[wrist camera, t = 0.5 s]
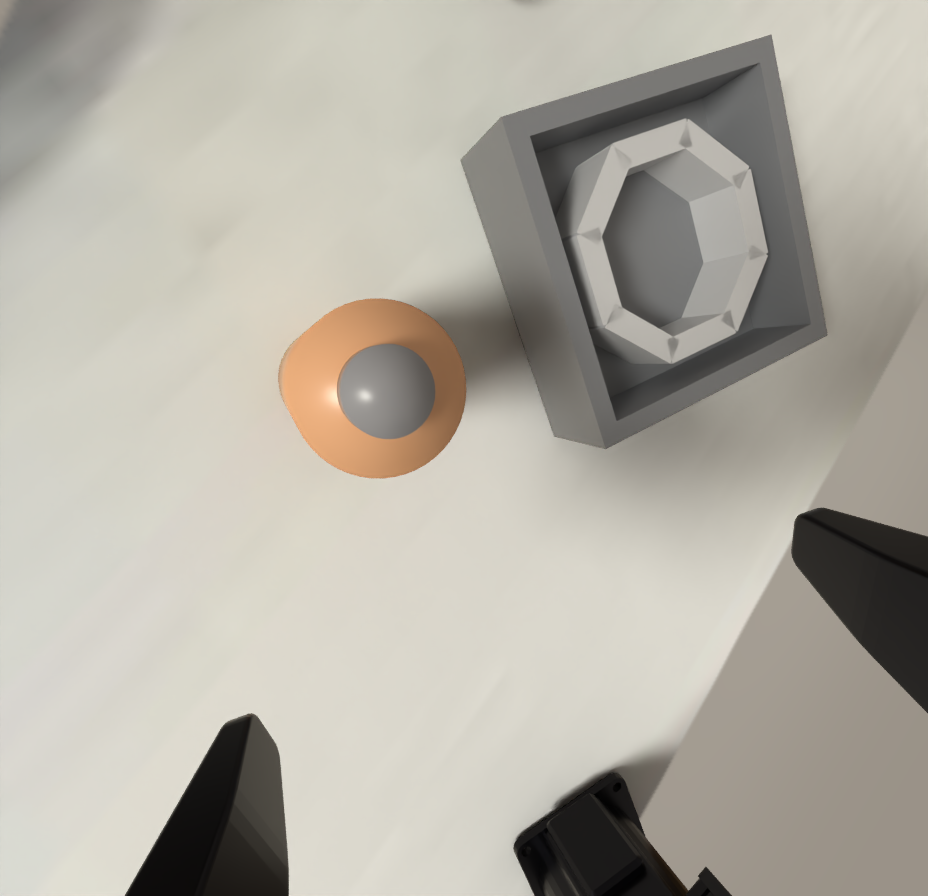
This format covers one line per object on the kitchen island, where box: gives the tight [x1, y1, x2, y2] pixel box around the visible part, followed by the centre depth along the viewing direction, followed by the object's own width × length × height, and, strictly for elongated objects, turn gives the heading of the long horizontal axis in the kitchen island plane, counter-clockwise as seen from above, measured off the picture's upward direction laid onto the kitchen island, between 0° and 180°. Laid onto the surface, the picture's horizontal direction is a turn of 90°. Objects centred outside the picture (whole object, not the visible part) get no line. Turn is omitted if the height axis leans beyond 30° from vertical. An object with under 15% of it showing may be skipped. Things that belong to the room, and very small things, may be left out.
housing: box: [461, 35, 827, 449], centre depth 23 cm, size 12×12×4 cm
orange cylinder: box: [278, 299, 466, 478], centre depth 16 cm, size 4×4×10 cm
